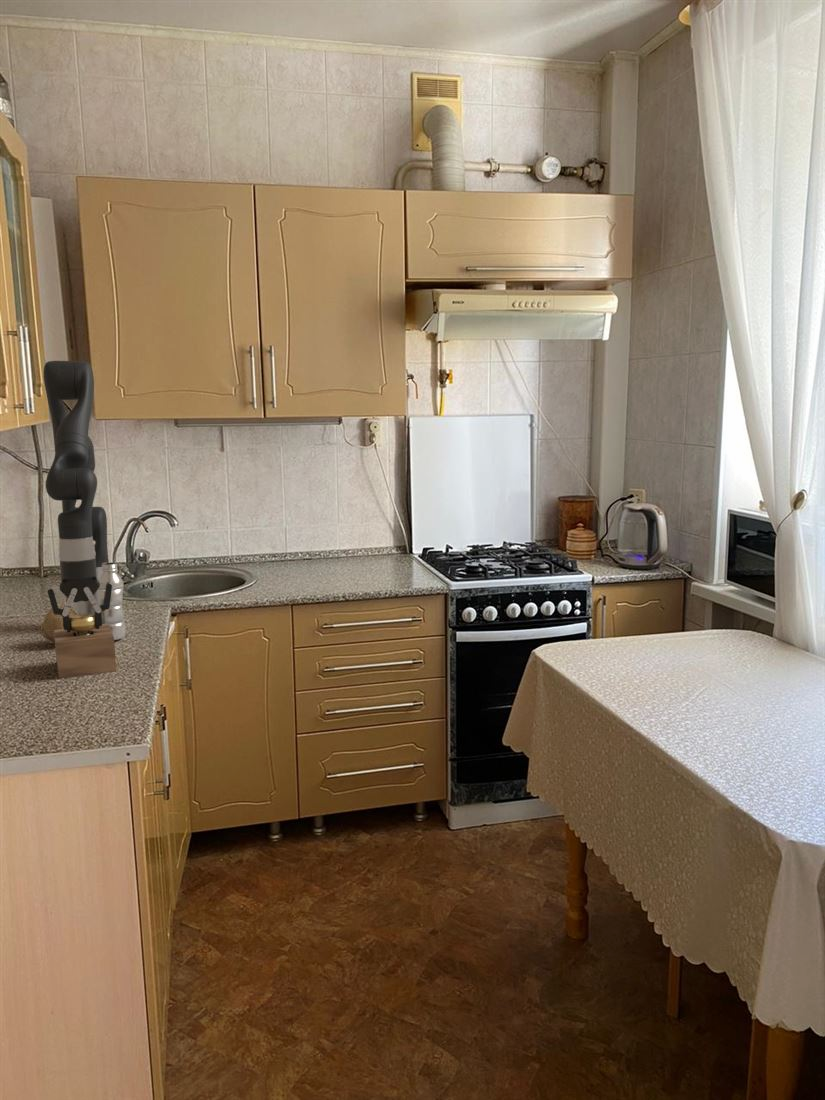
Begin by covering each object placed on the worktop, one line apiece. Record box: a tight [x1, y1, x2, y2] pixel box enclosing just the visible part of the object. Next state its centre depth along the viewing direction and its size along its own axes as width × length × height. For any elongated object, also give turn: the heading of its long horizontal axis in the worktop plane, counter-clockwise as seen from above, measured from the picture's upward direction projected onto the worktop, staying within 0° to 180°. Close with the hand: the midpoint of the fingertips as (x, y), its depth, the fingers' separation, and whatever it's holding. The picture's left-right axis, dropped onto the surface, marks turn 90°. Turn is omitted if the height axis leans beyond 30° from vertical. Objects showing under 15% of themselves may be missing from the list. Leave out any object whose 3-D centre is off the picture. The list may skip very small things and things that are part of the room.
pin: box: [69, 614, 96, 636], centre depth 191 cm, size 6×6×10 cm
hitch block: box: [54, 624, 117, 679], centre depth 191 cm, size 13×12×8 cm
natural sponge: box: [40, 605, 77, 644], centre depth 211 cm, size 9×9×10 cm
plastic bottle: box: [98, 562, 127, 641], centre depth 214 cm, size 6×7×20 cm
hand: (83, 629), depth 191 cm, fingers closed on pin, 5 cm apart
